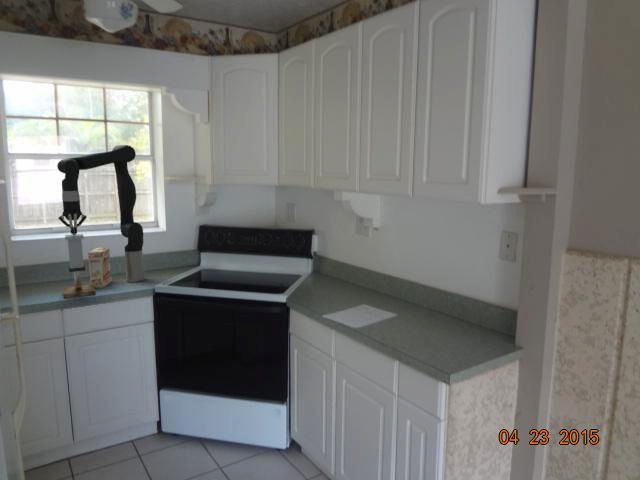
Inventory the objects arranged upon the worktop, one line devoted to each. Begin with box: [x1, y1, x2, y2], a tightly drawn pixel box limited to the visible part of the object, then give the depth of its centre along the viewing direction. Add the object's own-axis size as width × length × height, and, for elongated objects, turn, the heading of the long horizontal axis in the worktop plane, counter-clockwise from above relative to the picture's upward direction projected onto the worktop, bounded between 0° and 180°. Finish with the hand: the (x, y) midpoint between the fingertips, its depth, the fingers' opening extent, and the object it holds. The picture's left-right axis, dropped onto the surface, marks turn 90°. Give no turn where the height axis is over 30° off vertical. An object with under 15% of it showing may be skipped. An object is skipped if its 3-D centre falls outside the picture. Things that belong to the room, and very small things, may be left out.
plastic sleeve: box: [64, 233, 85, 269], centre depth 232 cm, size 8×8×16 cm
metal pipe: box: [73, 271, 83, 290], centre depth 234 cm, size 4×4×17 cm
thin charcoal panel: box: [68, 264, 86, 273], centre depth 234 cm, size 7×7×2 cm
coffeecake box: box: [87, 246, 113, 289], centre depth 252 cm, size 15×7×20 cm, turn 9°
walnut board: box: [62, 284, 96, 299], centre depth 236 cm, size 14×14×2 cm
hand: (74, 234), depth 231 cm, fingers closed
